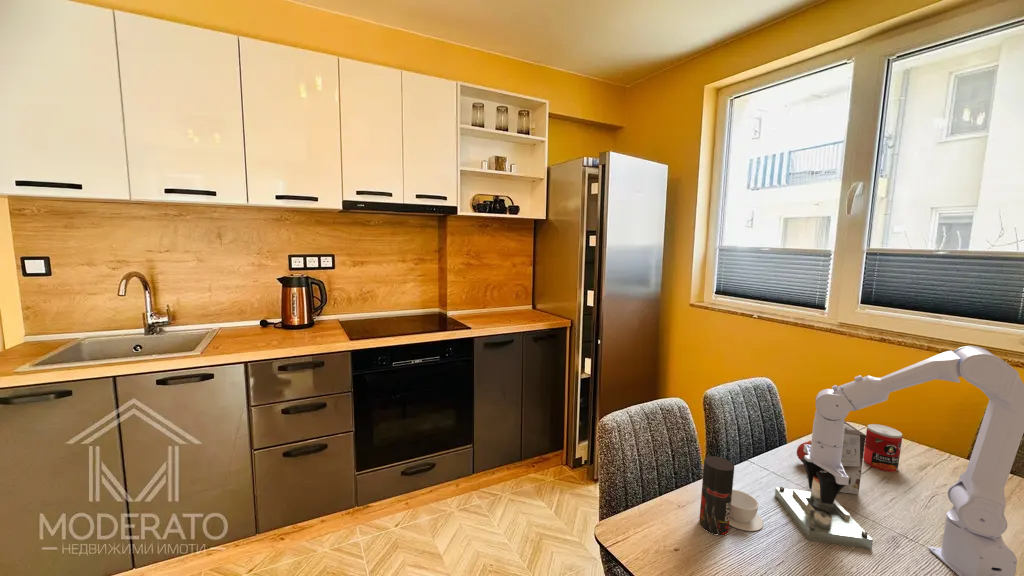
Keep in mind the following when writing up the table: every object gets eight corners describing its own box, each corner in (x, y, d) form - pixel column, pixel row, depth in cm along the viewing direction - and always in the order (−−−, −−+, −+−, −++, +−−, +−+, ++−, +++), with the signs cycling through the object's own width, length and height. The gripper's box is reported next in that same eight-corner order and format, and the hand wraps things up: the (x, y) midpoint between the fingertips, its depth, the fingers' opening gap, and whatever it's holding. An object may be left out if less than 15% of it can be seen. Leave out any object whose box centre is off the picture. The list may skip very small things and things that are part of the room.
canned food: (871, 469, 116) (876, 433, 115) (857, 456, 124) (861, 422, 123) (904, 474, 114) (909, 437, 113) (887, 460, 122) (892, 426, 120)
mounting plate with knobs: (871, 549, 85) (874, 530, 84) (808, 540, 87) (810, 521, 86) (827, 502, 100) (829, 486, 100) (774, 495, 103) (776, 480, 102)
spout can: (837, 512, 92) (843, 480, 92) (816, 509, 93) (821, 477, 92) (825, 500, 97) (830, 469, 96) (805, 497, 98) (810, 466, 97)
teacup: (739, 536, 88) (740, 516, 87) (705, 507, 97) (706, 489, 97) (774, 528, 91) (776, 508, 90) (737, 501, 100) (739, 483, 100)
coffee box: (860, 495, 104) (867, 435, 102) (831, 491, 105) (838, 432, 103) (839, 475, 113) (845, 420, 111) (813, 472, 114) (819, 418, 112)
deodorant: (724, 539, 86) (730, 473, 85) (695, 526, 90) (700, 463, 89) (731, 525, 91) (737, 462, 89) (703, 513, 95) (708, 453, 93)
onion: (791, 463, 119) (793, 437, 118) (802, 459, 121) (805, 434, 120) (812, 473, 113) (815, 446, 112) (824, 469, 116) (827, 442, 115)
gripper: (792, 425, 101) (787, 476, 103) (825, 454, 87) (818, 513, 89) (824, 429, 100) (818, 480, 101) (862, 459, 86) (855, 518, 87)
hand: (820, 496), depth 95 cm, fingers closed on spout can, 4 cm apart
